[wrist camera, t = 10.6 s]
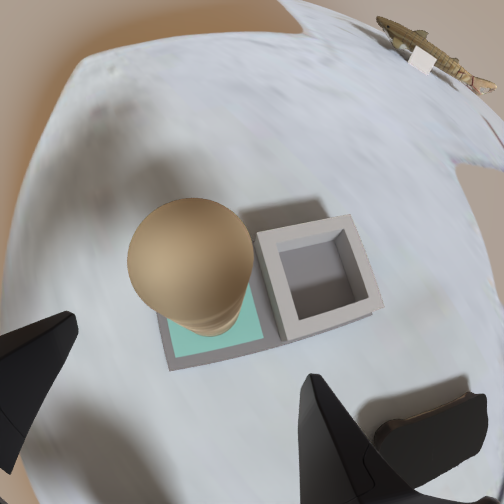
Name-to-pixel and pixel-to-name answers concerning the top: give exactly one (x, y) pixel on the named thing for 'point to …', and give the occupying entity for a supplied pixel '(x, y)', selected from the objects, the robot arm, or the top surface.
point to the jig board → (288, 294)
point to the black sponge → (434, 439)
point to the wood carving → (430, 55)
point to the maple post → (192, 264)
